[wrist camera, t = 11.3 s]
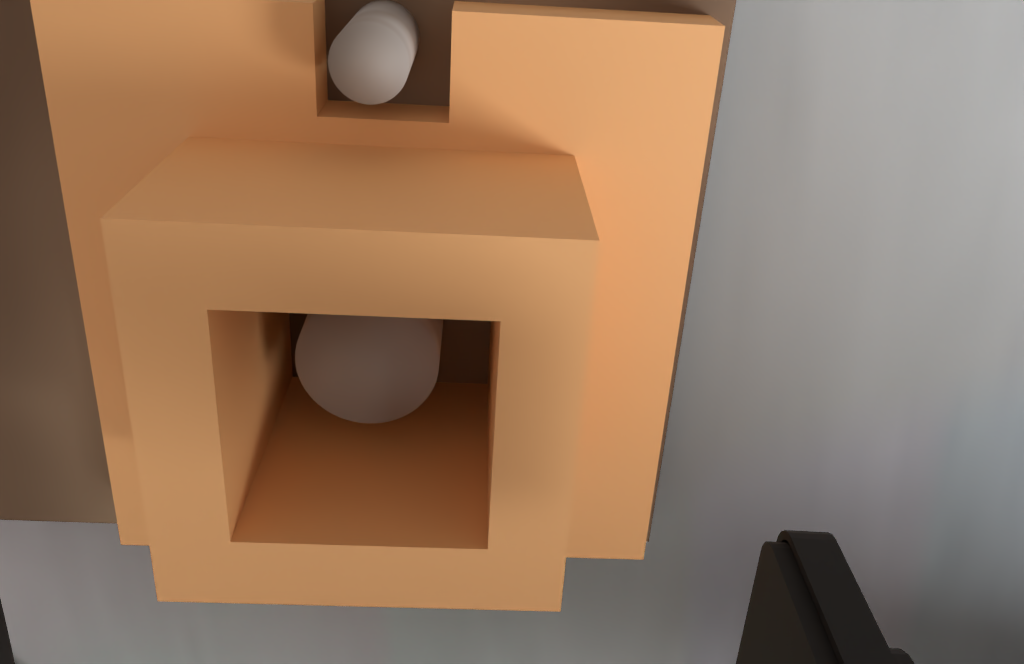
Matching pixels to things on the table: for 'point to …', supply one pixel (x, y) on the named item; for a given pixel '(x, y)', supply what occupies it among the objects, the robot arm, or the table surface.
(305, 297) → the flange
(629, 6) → the board
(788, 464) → the table surface
